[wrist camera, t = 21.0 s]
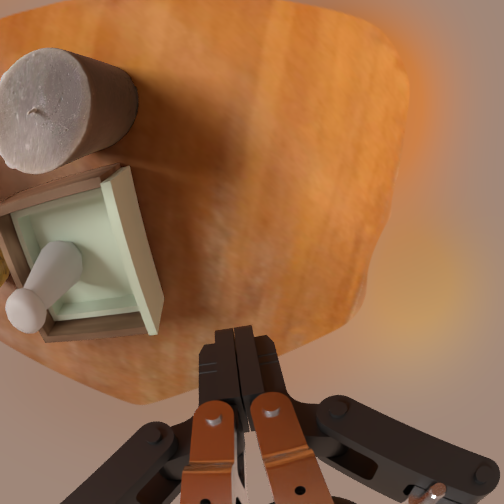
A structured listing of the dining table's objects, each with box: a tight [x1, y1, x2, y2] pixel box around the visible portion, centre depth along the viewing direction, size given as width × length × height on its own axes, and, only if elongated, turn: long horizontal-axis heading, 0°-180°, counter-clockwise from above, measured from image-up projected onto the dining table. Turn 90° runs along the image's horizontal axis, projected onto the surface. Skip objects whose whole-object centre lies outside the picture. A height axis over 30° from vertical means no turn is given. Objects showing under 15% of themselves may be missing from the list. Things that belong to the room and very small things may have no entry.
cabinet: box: [0, 163, 148, 343], centre depth 33 cm, size 18×15×7 cm
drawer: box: [10, 166, 164, 335], centre depth 32 cm, size 17×15×7 cm
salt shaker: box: [5, 240, 83, 333], centre depth 28 cm, size 6×6×13 cm
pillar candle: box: [0, 48, 138, 174], centre depth 23 cm, size 10×10×15 cm
